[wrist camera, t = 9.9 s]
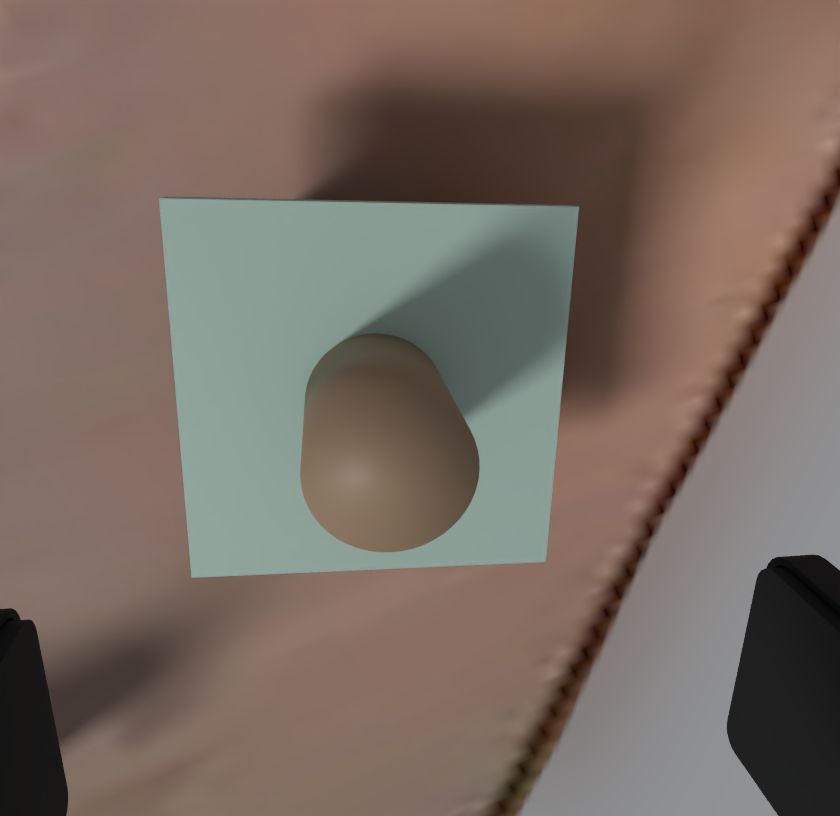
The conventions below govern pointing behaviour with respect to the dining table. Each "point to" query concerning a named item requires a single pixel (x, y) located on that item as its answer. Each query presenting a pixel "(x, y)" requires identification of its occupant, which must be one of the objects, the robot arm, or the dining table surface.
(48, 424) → the dining table surface
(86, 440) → the dining table surface
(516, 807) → the dining table surface
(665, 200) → the dining table surface
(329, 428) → the lid
